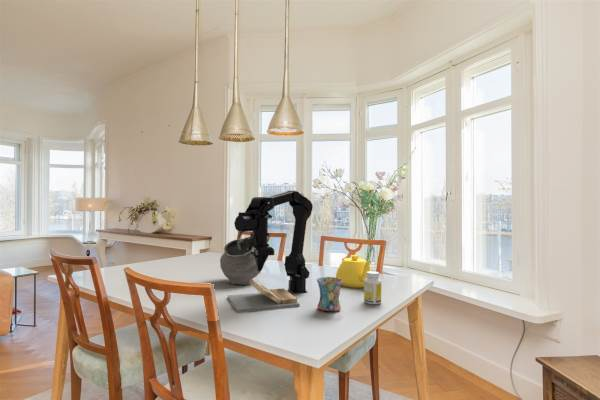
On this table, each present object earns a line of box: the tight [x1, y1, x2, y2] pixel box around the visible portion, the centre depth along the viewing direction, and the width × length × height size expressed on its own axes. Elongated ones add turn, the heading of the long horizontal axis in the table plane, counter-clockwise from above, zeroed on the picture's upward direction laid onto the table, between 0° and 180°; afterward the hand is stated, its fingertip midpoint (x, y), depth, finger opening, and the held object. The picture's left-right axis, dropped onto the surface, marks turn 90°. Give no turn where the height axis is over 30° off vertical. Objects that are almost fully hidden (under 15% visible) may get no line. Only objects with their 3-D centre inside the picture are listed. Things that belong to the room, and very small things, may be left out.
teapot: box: [335, 254, 373, 289], centre depth 164 cm, size 25×18×14 cm
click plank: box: [249, 278, 281, 304], centre depth 132 cm, size 9×16×2 cm
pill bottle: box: [363, 270, 382, 305], centre depth 134 cm, size 6×6×12 cm
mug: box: [316, 276, 343, 312], centre depth 123 cm, size 12×9×11 cm
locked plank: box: [269, 288, 298, 304], centre depth 134 cm, size 6×16×2 cm, turn 21°
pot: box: [219, 230, 264, 286], centre depth 164 cm, size 21×21×25 cm
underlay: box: [227, 292, 300, 313], centre depth 132 cm, size 23×19×1 cm
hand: (259, 271), depth 131 cm, fingers closed
